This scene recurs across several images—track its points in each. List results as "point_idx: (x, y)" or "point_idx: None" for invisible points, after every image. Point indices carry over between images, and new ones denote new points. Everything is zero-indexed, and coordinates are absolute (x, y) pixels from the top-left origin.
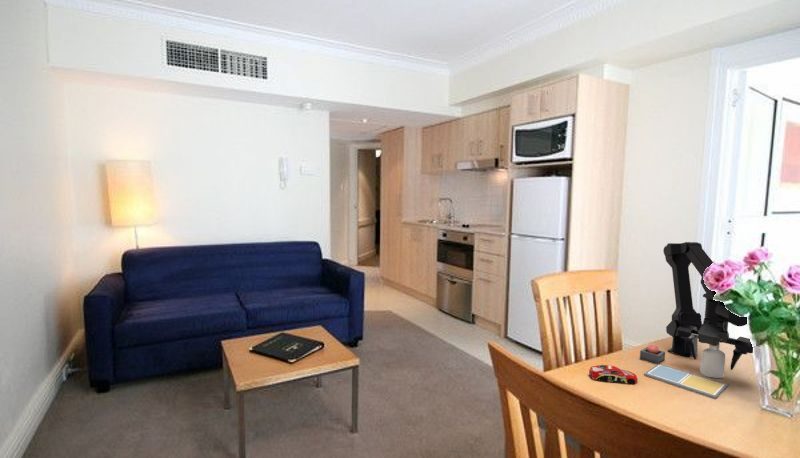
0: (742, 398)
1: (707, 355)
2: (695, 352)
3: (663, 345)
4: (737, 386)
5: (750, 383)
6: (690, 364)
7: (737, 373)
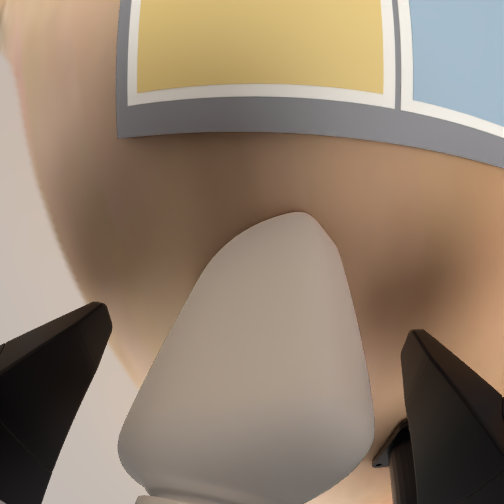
0: (47, 35)
1: (286, 359)
2: (437, 398)
3: None
4: (96, 197)
5: None
6: None
7: None
